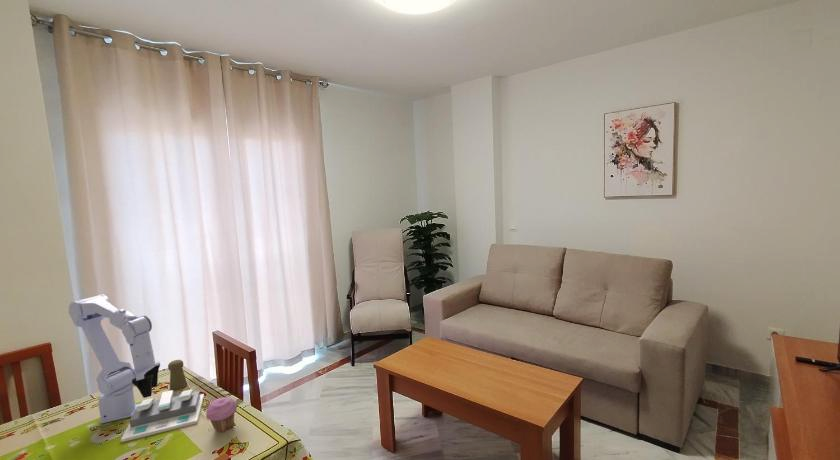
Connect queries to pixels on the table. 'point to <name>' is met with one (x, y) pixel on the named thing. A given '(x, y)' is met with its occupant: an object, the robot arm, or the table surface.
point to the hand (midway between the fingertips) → (150, 391)
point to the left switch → (145, 404)
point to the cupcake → (221, 413)
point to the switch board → (170, 425)
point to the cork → (177, 375)
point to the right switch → (185, 395)
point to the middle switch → (165, 400)
